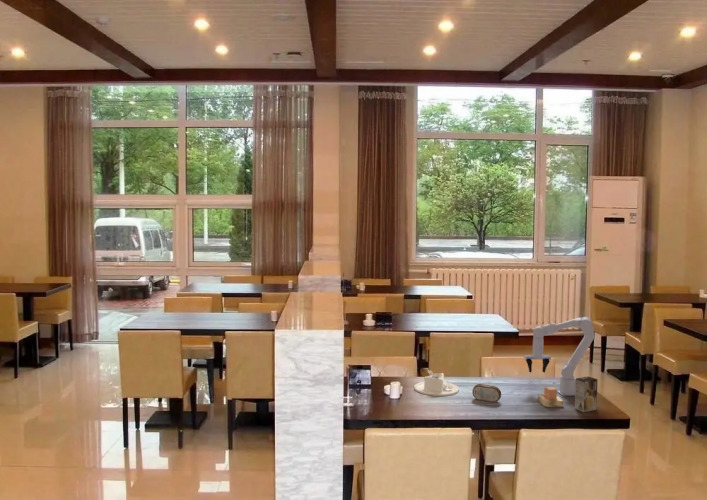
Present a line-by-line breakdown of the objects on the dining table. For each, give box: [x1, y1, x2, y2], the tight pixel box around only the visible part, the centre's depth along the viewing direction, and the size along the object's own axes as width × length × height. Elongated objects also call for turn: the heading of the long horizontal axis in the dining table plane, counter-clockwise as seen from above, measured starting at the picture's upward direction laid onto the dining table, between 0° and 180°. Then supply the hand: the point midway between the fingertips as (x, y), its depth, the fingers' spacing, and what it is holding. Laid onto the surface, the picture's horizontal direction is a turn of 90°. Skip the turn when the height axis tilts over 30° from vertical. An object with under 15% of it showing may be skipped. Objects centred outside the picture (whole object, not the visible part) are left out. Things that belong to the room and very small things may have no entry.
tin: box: [472, 383, 502, 403], centre depth 341 cm, size 15×3×8 cm, turn 65°
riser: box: [537, 394, 564, 408], centre depth 339 cm, size 10×10×3 cm
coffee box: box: [574, 376, 599, 413], centre depth 330 cm, size 9×6×16 cm
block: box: [543, 386, 558, 399], centre depth 339 cm, size 4×4×5 cm
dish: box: [413, 369, 460, 397], centre depth 360 cm, size 25×25×11 cm
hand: (536, 372), depth 361 cm, fingers open, 7 cm apart
